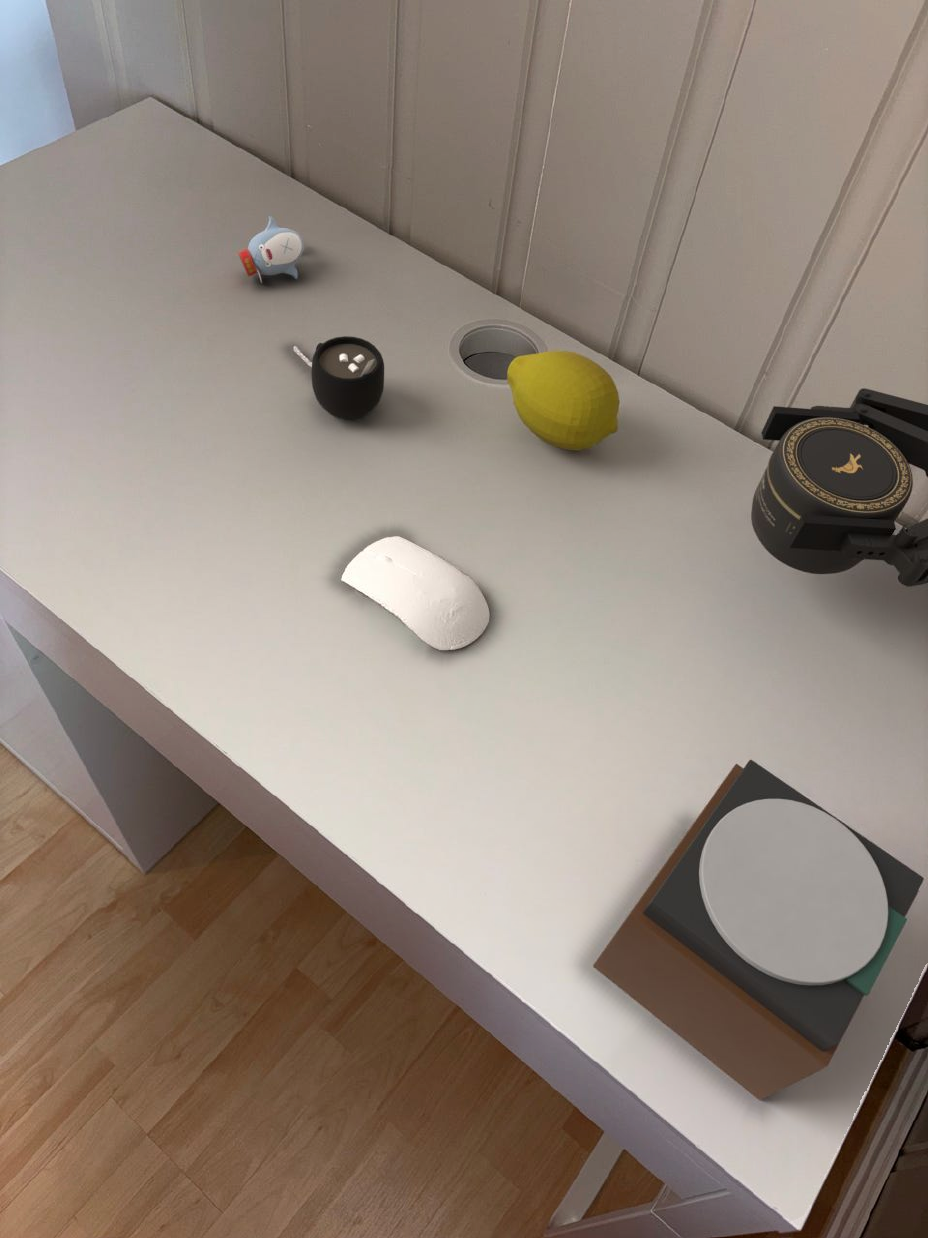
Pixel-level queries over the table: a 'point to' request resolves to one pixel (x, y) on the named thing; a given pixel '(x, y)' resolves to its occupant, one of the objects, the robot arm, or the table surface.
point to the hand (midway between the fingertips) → (781, 474)
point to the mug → (347, 376)
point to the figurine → (273, 251)
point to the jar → (827, 486)
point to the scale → (762, 931)
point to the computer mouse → (420, 592)
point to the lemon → (564, 398)
